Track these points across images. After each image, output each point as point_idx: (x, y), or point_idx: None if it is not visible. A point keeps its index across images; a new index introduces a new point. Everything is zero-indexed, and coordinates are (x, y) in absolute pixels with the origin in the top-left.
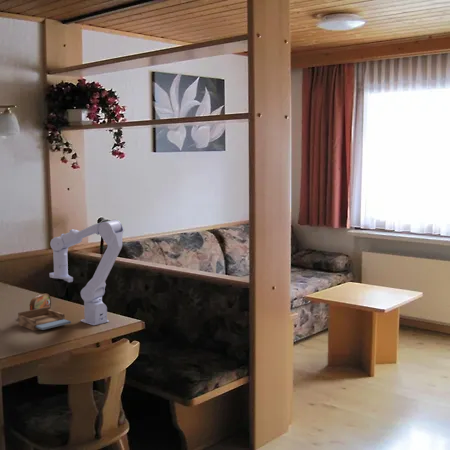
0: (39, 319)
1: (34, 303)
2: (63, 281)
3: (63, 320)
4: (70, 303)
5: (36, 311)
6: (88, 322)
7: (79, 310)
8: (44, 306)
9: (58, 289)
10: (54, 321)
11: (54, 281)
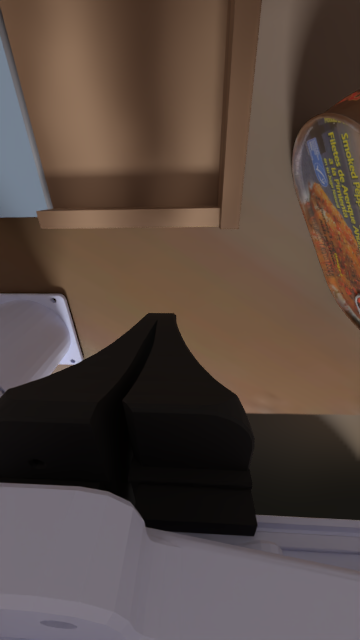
0: (137, 64)
1: (349, 119)
2: (4, 474)
3: (20, 195)
4: (339, 409)
5: (228, 79)
6: (4, 299)
7: (224, 379)
8: (348, 270)
9: (138, 343)
10: (25, 132)
11: (143, 405)
